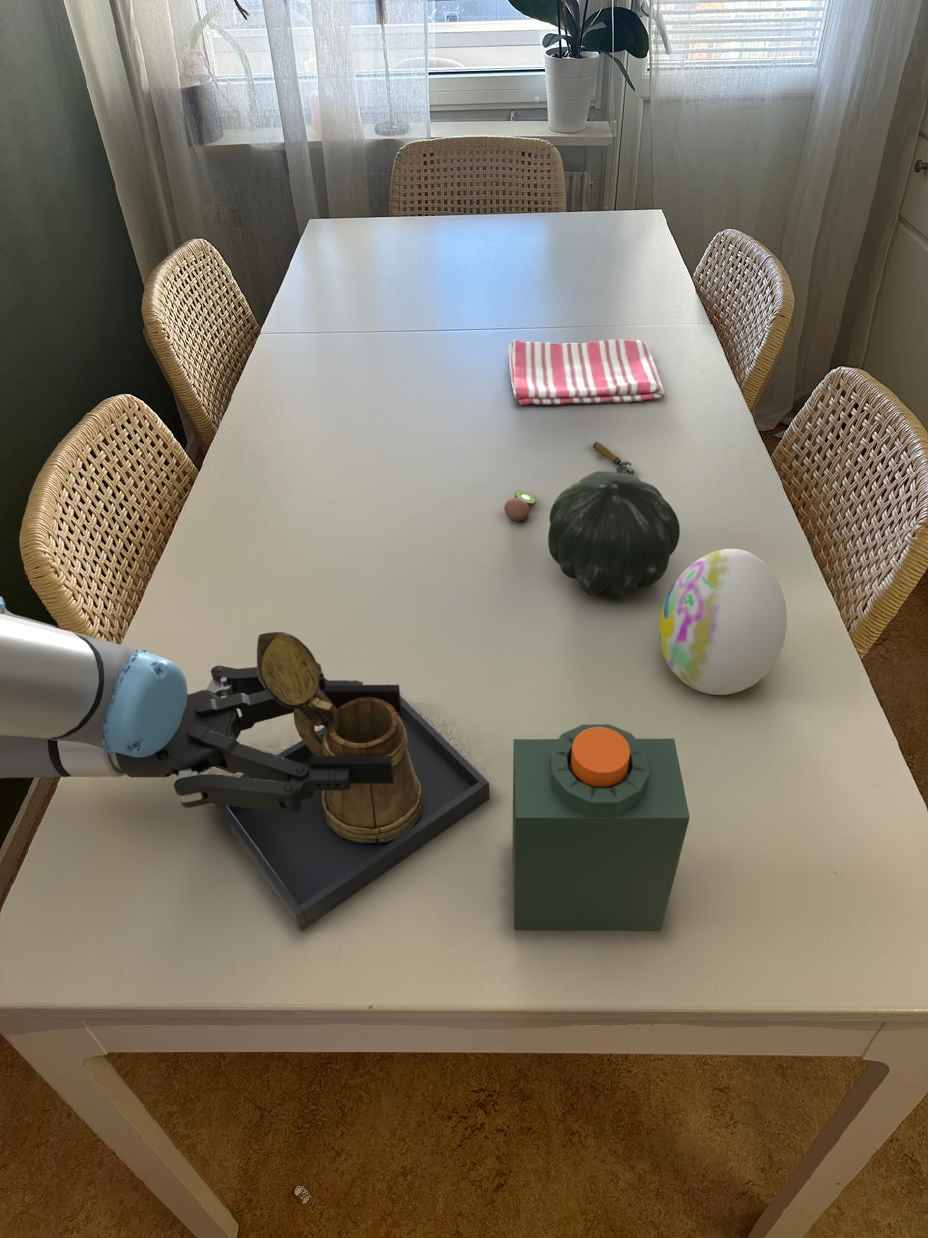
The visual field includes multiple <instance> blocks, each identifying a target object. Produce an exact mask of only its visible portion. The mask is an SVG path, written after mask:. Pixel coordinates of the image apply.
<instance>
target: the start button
mask: <svg viewBox="0 0 928 1238" xmlns="http://www.w3.org/2000/svg"><path fill="white" fill-rule="evenodd" d="M629 758H630V747H629V745H628V743H627V741H626V740H625V738H624V737H623V736H622V735H620V734H619V733H618V732H616V731H614V730H611V729H608V728H603V727H595V728H590V729H587V730H584V731H583V732H581V733H580V734H579V735H578V736H577V737H576V738H575V740H574V742H573V745H572V756H571V767H572V770H573V772H574V774H575V775H576V776H577V778H578V779H580V780H581V781H582V782H584V783H586V784H587V785H590V786H593V787H601V788H603V787H610V786H613V785H616V784H617V783H619V782H620V781H622V779H623V778H624V777H625V776H626V774H627V770H628V765H629Z"/></svg>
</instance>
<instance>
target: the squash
mask: <svg viewBox="0 0 928 1238" xmlns="http://www.w3.org/2000/svg"><path fill="white" fill-rule="evenodd" d="M549 523H550V525H549V528H548V536H547V544H548V550H549V554H550V556H551V557H552V559H553V560H554V561H555V562H556V563H557V564H558V565H559V568H560V570H561V572H562V573H563V574H564V575H565V576H566V577H568V578H569V579H573V580H577V582H578V584H579V586H580V588H581V590H582V591H583V592H584V593H586V595H589V596H595V595H599V594H600V593H602V592H604V591H606V592H607V593H608V594H609V595H611V596H612V597H614V598H621V597H624V596H626V595H628V594H629V593H631V592H632V591H634V589H635V588H636V587H637V588H645V587H649V586H651V585H652V584H655V583H656V582H658V581H659V580H660V579H661V578H662V577H663V576H664V574H665V573H666V571H667V568H668V566H669V561H670V558H671V555H673V553H674V551H676V549H677V547H678V544H679V540H680V536H681V535H680V533H681V528H680V527H681V526H680V522H679V519H678V516H677V514H676V512H675V510H674V509H673V507H672V506H671V504H670V503H669V502H668V501H667V500H666V499H665V498H664V497H663V494H662V493H661V492H660V490H659V489H658V488H656V487H655V486H654V485H652V484H650V483H648V482H646V481H642V480H641V479H640V477H638V476H636V475H634V474H633V475H632V474H628V473H627V474H619V473H617V472H613V471H606V470H604V471H603V470H597V471H594V472H591V473H589V474H587V475H585V476H583V477H582V478H581V479H579V481H578V482H575V483H573V484H571V485H570V486H568V488H566V489H565V488H564V490H563V491H561V492H560V493H559V494H558V496H557V497H556V498H555V500H554V502H553V504H552V506H551V508H550V512H549Z"/></svg>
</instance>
